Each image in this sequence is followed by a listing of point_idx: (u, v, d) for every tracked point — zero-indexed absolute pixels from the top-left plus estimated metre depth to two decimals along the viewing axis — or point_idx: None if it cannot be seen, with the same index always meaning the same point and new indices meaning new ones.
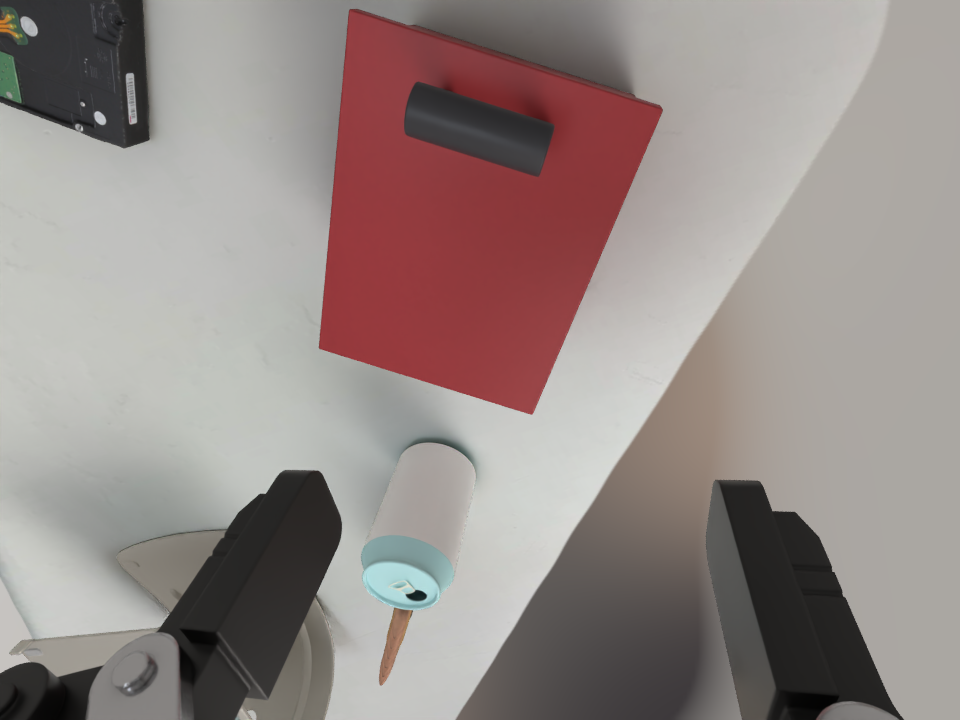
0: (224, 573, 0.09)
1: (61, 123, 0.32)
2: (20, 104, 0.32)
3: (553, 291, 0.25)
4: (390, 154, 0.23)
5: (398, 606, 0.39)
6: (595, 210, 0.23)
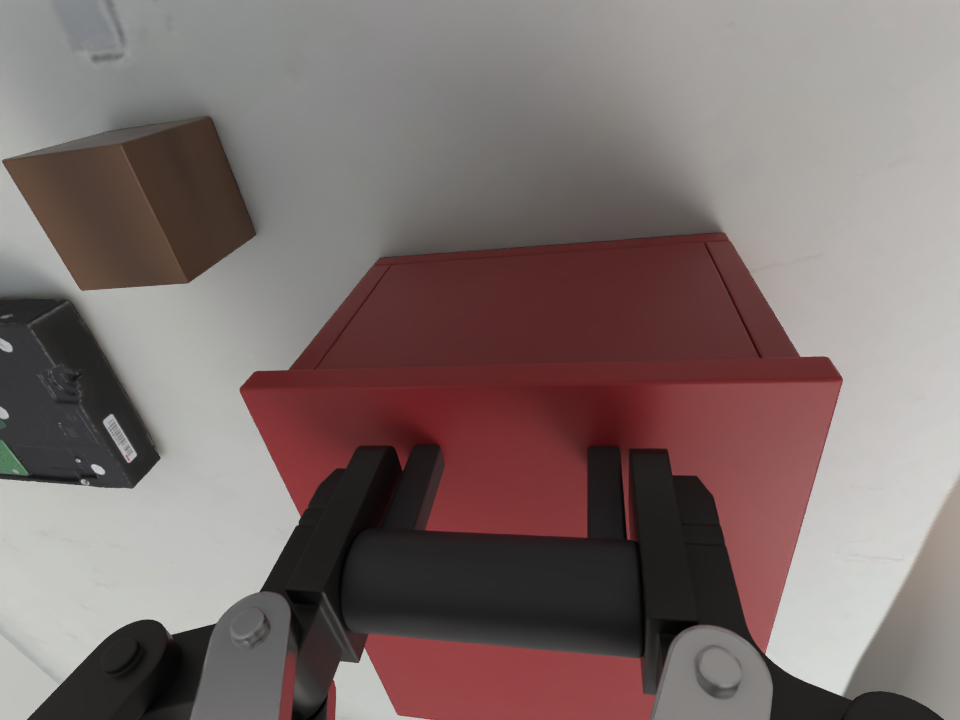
0: (319, 539, 0.09)
1: (68, 483, 0.28)
2: (28, 476, 0.29)
3: None
4: None
5: None
6: (752, 535, 0.12)
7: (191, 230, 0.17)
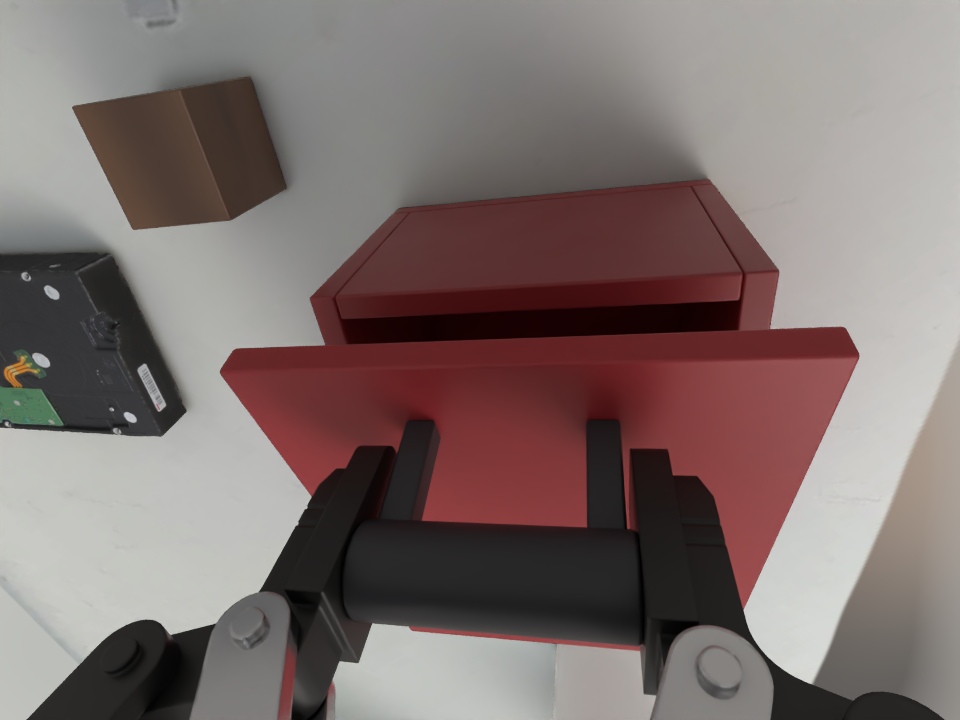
0: (319, 539, 0.09)
1: (101, 432, 0.30)
2: (63, 426, 0.31)
3: None
4: None
5: None
6: (751, 492, 0.12)
7: (233, 174, 0.20)
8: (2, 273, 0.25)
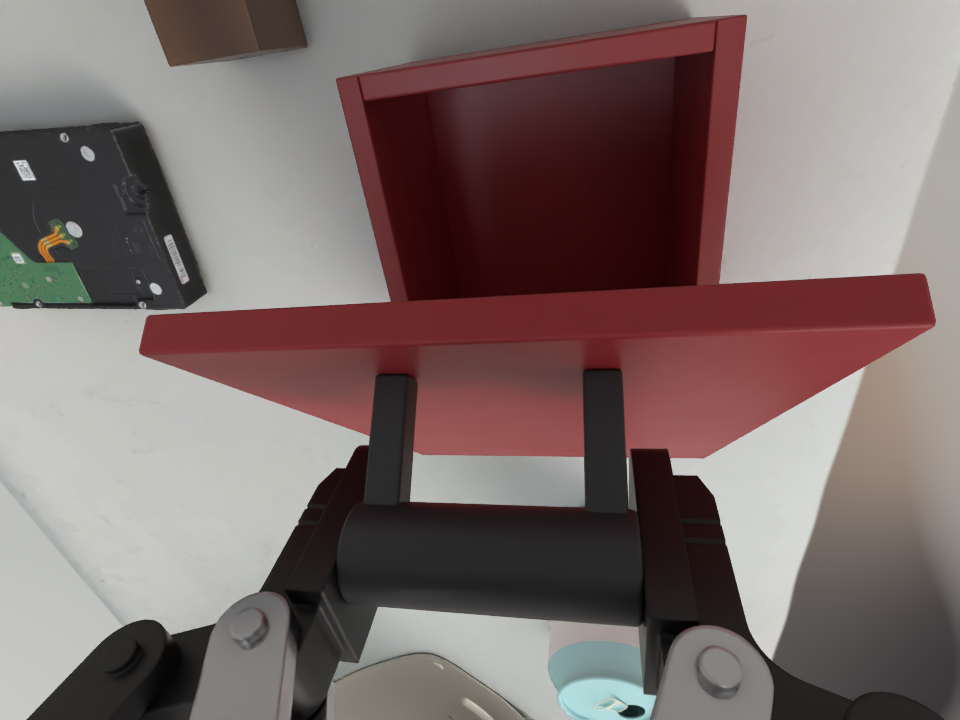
0: (318, 539, 0.09)
1: (127, 307, 0.32)
2: (91, 303, 0.33)
3: (702, 429, 0.15)
4: (368, 405, 0.14)
5: None
6: (761, 398, 0.11)
7: (262, 10, 0.22)
8: (42, 135, 0.27)
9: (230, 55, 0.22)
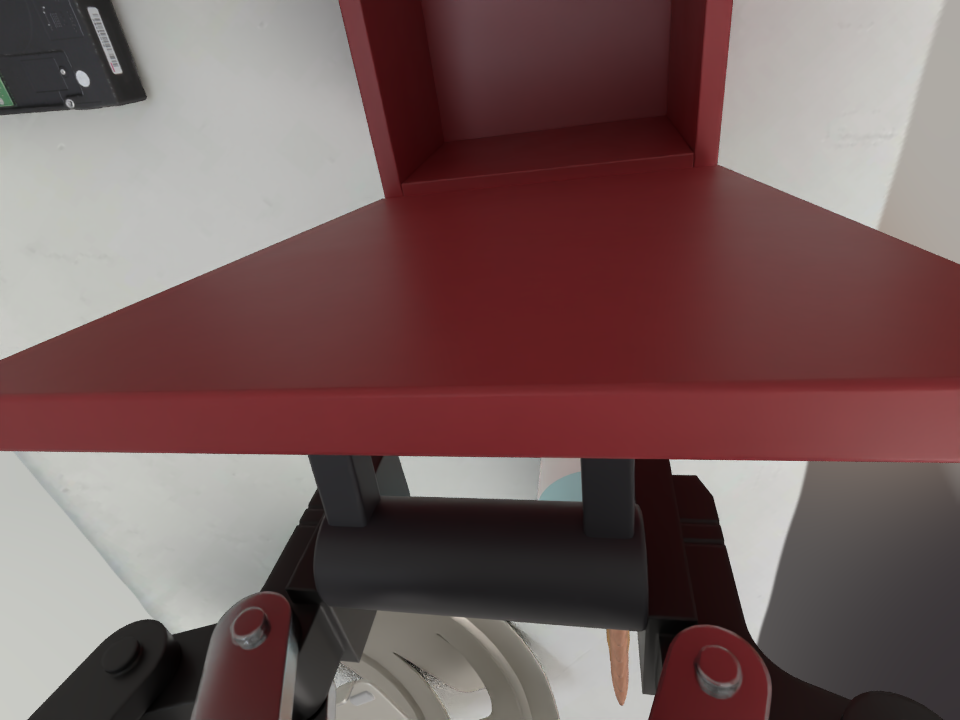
0: None
1: (53, 108, 0.28)
2: (13, 107, 0.29)
3: None
4: None
5: None
6: None
7: None
8: None
9: None
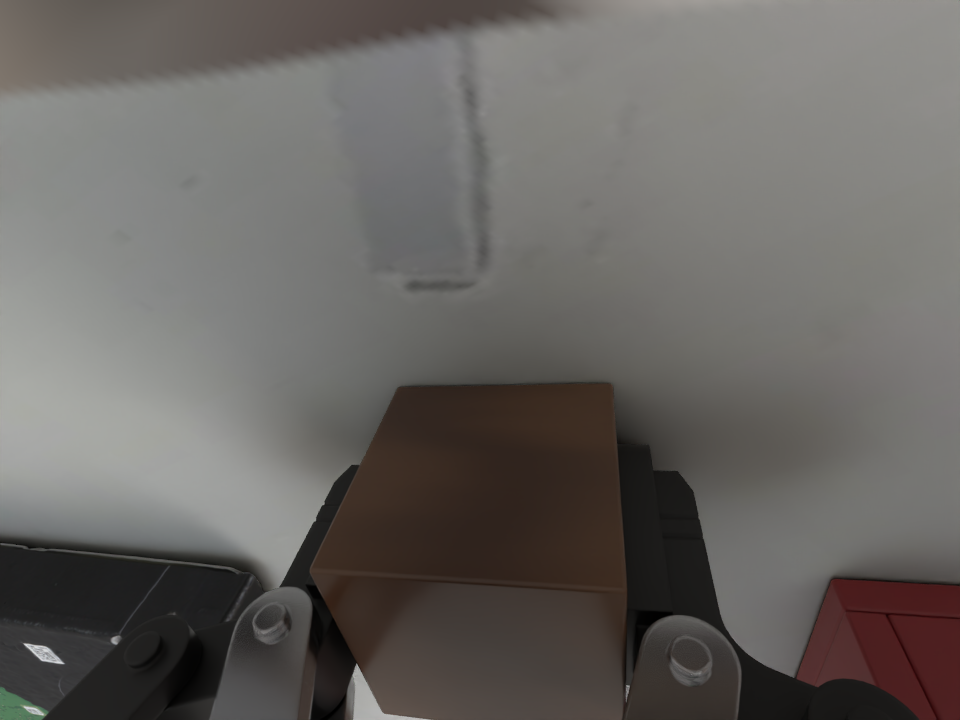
0: None
1: None
2: None
3: None
4: None
5: None
6: None
7: None
8: (77, 633, 0.14)
9: None
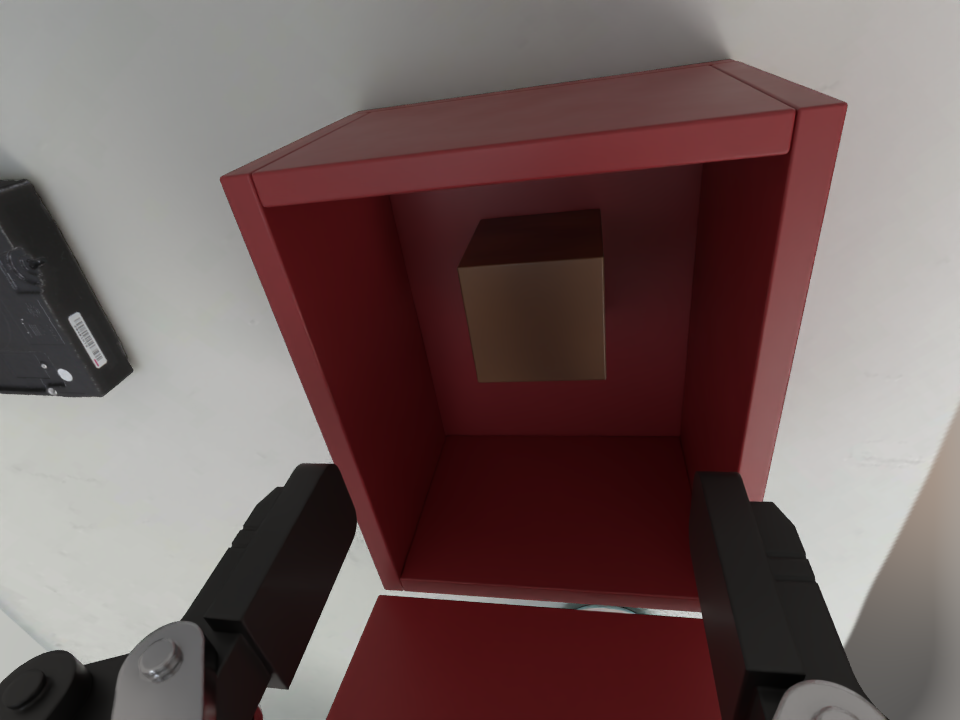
0: (245, 563, 0.09)
1: (35, 393, 0.27)
2: None
3: None
4: None
5: None
6: None
7: None
8: None
9: (562, 379, 0.18)
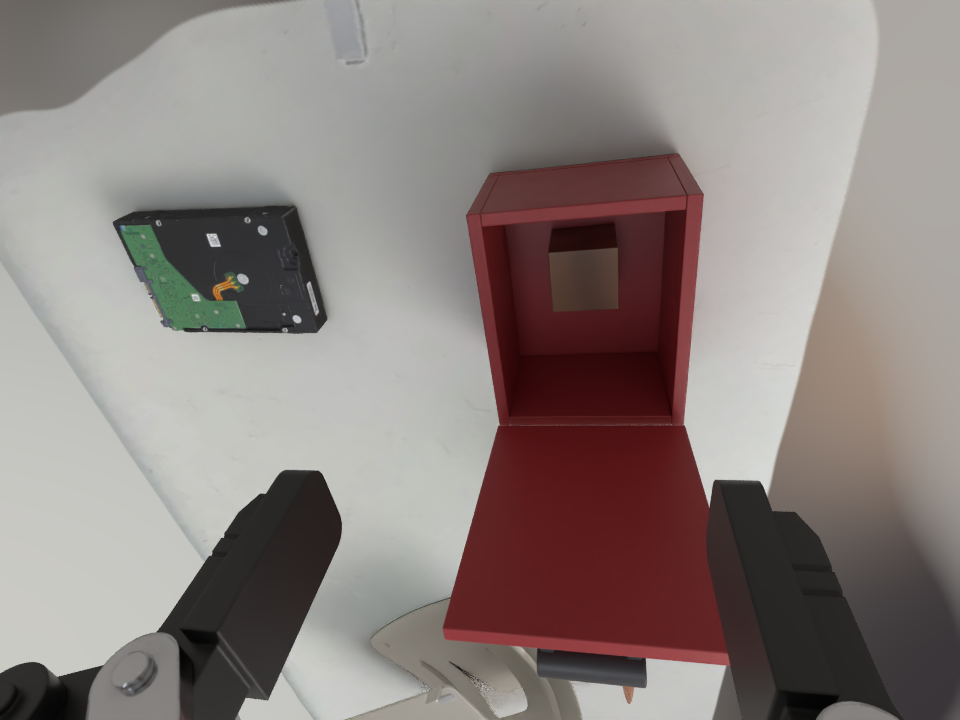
0: (224, 573, 0.09)
1: (273, 331, 0.45)
2: (245, 329, 0.45)
3: None
4: None
5: None
6: None
7: None
8: (232, 218, 0.39)
9: (596, 309, 0.36)
